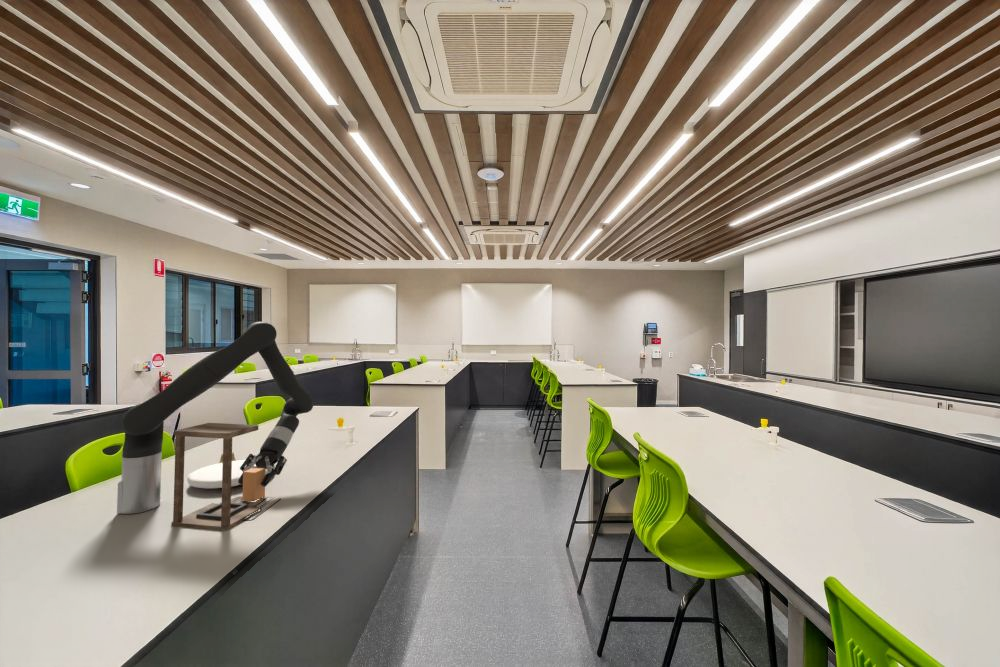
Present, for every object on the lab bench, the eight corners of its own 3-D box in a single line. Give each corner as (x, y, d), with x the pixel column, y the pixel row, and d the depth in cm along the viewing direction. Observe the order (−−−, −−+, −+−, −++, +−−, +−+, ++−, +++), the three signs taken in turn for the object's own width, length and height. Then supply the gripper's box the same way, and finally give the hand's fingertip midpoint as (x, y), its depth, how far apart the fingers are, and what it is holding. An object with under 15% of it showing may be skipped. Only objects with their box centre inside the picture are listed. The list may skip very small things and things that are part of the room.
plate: (226, 456, 160) (288, 457, 159) (225, 472, 159) (287, 473, 158) (168, 471, 132) (242, 473, 132) (165, 491, 131) (240, 492, 131)
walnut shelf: (212, 506, 122) (214, 421, 123) (261, 510, 119) (263, 423, 120) (171, 525, 109) (174, 430, 110) (225, 530, 106) (228, 433, 107)
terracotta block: (253, 496, 130) (253, 467, 130) (264, 497, 129) (265, 468, 130) (242, 501, 126) (243, 471, 126) (254, 502, 125) (255, 472, 125)
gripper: (254, 435, 137) (226, 478, 125) (289, 437, 135) (264, 481, 123) (265, 446, 142) (239, 488, 130) (299, 448, 140) (276, 491, 128)
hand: (251, 484), depth 127 cm, fingers open, 8 cm apart
